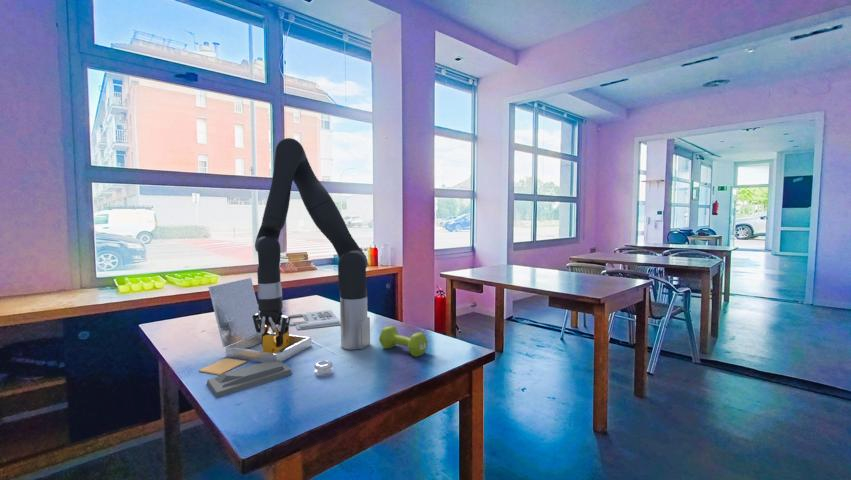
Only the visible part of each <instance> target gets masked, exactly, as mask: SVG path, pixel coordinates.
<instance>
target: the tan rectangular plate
mask: <svg viewBox="0 0 851 480" xmlns="http://www.w3.org/2000/svg"><path fill="white" fill-rule="evenodd" d="M246 363H247V360H243V359H237V358H231V357H225V358H222V359H221V360H219V361H217V362H214V363H212V364H210V365H206V366H205V367H203V368H201V369H199V370H198V372H200V373H201V372H202V373H205V374H211V375H217V376H220V375H221V374H223V373H226V372H230V371H233V370H235V369H236V368H238V367H240V366H242V365H244V364H246Z"/></svg>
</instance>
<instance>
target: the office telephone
mask: <svg viewBox="0 0 851 480" xmlns="http://www.w3.org/2000/svg"><path fill="white" fill-rule="evenodd" d="M285 316H286V317H287V316H290V323H289V327H293V326H294V327H295V329H296V330H297V331H303V330H313V329H322V328H323V329H324V328H328V327H329V328H330V327H337V326H340V327H341V321H340V319H339V318H338V317H337V316H336V315H335V313H334V312H333V310H331V309H329V310H320V311H312V312H311V311H310V312H305V313H298V314H290V315H289V314H287V315H285ZM296 318H303V319H304V320H303V321H295V322H293V321H292V319H296Z"/></svg>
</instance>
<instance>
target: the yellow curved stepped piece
mask: <svg viewBox="0 0 851 480" xmlns="http://www.w3.org/2000/svg"><path fill="white" fill-rule="evenodd" d="M289 335H290V328H289V329H288V333H285V334H283V344H282V346H280V347H276V336H274V337H273V335H265V336H263V343H262V352H269V353H278V352H280V351H282V350H284V349H285V348H287V346H289V345H291V344H290V343H289Z"/></svg>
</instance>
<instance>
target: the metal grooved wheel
mask: <svg viewBox="0 0 851 480" xmlns="http://www.w3.org/2000/svg"><path fill="white" fill-rule="evenodd" d="M332 373H333V362H332V361H330V360H320V361H318V362H316V363H315V364H314V375H315V376H317V377H328V376H330V375H331V374H332Z"/></svg>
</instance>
